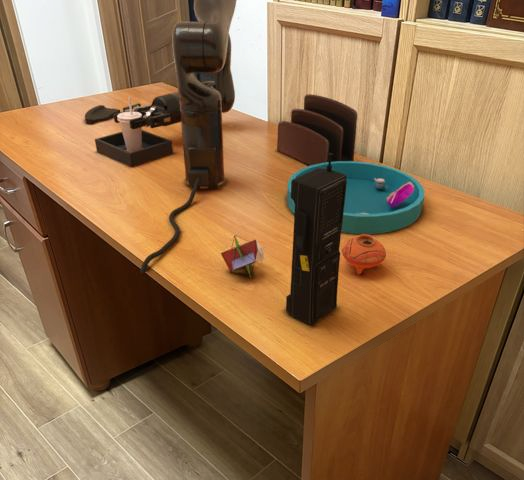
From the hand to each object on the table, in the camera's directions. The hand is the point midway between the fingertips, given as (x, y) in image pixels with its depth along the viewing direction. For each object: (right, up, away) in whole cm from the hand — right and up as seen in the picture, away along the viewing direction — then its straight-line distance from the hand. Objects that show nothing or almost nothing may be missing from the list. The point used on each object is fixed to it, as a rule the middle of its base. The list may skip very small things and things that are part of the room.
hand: (122, 121), depth 136 cm
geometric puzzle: (+32, -44, -39) cm, 67 cm away
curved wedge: (-15, +15, +31) cm, 38 cm away
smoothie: (+1, -6, +7) cm, 9 cm away
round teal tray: (+56, -25, -16) cm, 64 cm away
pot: (+54, -44, -38) cm, 79 cm away
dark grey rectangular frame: (+1, -5, +7) cm, 9 cm away
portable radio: (+44, -53, -49) cm, 84 cm away
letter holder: (+50, -8, +5) cm, 50 cm away
